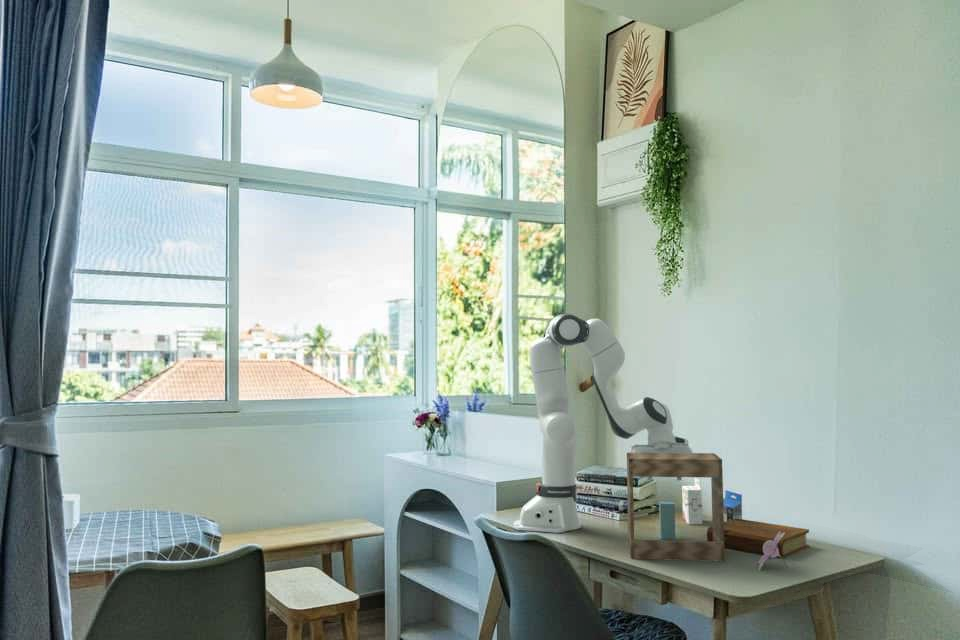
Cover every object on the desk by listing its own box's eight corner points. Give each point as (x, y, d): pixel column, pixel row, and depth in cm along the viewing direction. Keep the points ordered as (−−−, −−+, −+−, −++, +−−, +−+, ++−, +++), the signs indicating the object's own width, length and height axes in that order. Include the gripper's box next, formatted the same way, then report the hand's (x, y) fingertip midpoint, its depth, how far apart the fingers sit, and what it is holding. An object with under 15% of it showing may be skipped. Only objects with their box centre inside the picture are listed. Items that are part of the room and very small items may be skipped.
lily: (768, 563, 213) (751, 533, 214) (808, 552, 206) (789, 521, 207) (758, 586, 204) (739, 555, 204) (799, 576, 197) (780, 544, 197)
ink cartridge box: (681, 519, 266) (681, 476, 267) (696, 519, 266) (695, 476, 267) (688, 524, 258) (687, 480, 258) (702, 524, 258) (701, 480, 258)
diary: (707, 547, 230) (706, 528, 230) (736, 536, 243) (736, 518, 243) (782, 560, 213) (781, 539, 214) (809, 548, 227) (808, 528, 227)
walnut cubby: (630, 558, 215) (629, 458, 217) (628, 546, 229) (626, 452, 231) (724, 561, 212) (722, 459, 213) (716, 548, 226) (714, 453, 227)
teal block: (660, 539, 237) (660, 503, 238) (660, 536, 241) (659, 501, 242) (675, 539, 237) (674, 504, 237) (674, 537, 240) (673, 501, 241)
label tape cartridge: (716, 528, 252) (715, 490, 252) (726, 527, 253) (725, 490, 254) (733, 534, 243) (732, 495, 244) (743, 533, 245) (742, 494, 245)
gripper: (630, 439, 257) (632, 472, 247) (692, 439, 254) (697, 473, 244) (629, 450, 262) (631, 484, 252) (691, 451, 259) (695, 485, 248)
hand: (664, 479), depth 248 cm, fingers open, 8 cm apart
